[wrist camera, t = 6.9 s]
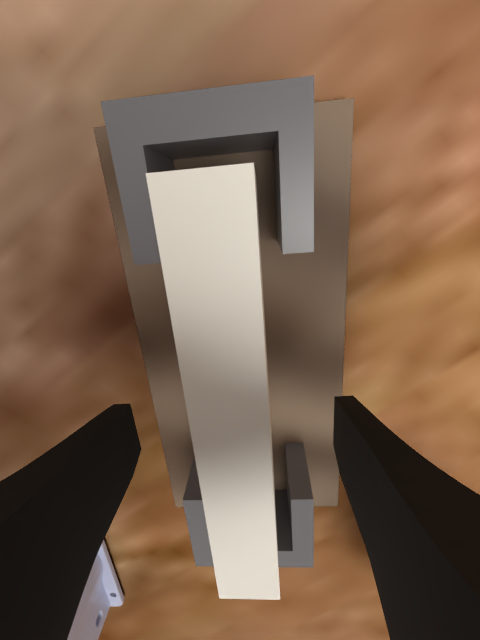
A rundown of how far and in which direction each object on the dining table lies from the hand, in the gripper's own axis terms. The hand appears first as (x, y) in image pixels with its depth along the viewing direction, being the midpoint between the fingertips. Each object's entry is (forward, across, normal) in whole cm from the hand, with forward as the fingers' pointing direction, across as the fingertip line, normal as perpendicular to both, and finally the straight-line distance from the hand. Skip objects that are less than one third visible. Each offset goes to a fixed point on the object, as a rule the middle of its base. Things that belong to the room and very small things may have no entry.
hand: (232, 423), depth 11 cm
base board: (+6, 0, 0) cm, 6 cm away
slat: (+5, 0, 0) cm, 5 cm away
